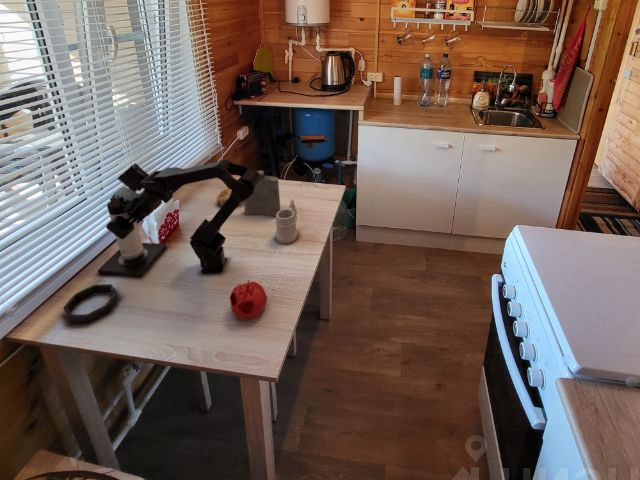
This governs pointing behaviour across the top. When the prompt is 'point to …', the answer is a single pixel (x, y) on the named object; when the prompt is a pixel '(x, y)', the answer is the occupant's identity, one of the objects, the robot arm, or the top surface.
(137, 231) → the travel mug
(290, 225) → the mug
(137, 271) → the hob plate
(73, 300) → the holder ring
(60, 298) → the top surface
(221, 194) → the bread roll
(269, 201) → the flask
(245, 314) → the pomegranate
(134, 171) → the robot arm
